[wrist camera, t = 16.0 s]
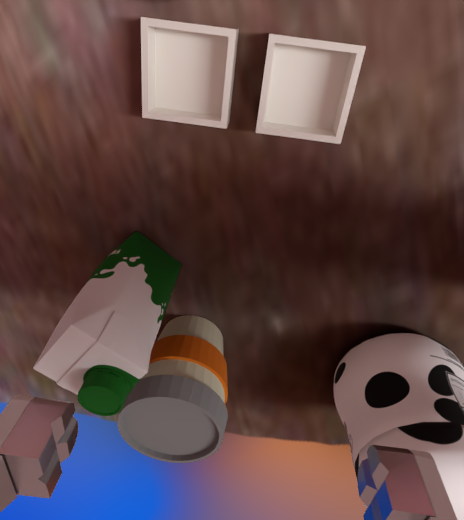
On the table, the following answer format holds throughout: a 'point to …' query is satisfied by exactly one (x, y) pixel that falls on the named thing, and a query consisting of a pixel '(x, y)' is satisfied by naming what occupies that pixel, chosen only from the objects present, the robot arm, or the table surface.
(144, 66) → the white square cubby
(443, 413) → the milk container
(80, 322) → the milk carton
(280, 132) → the white open square tray
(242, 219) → the table surface
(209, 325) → the reusable coffee cup
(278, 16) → the table surface
